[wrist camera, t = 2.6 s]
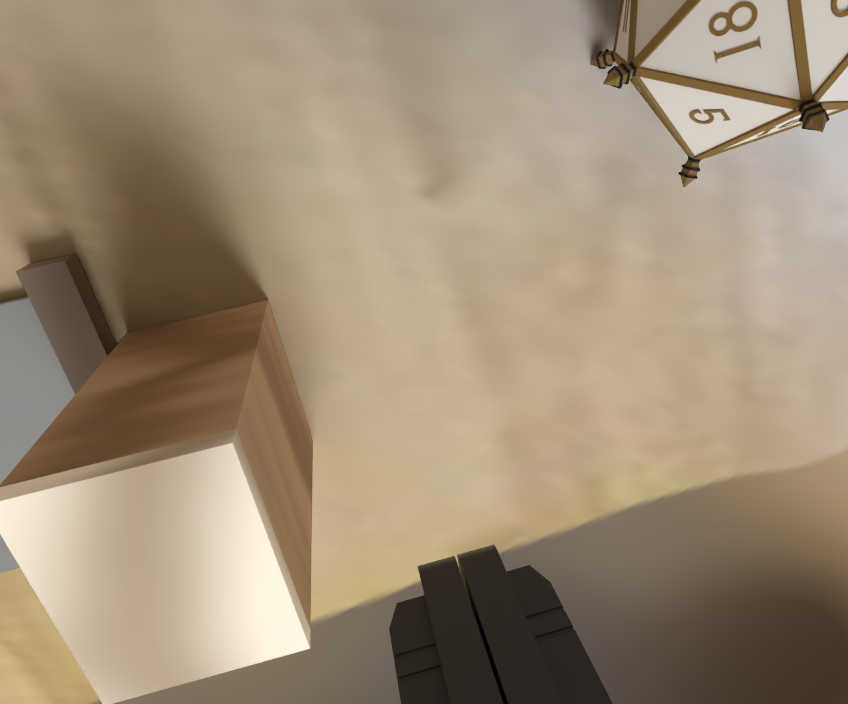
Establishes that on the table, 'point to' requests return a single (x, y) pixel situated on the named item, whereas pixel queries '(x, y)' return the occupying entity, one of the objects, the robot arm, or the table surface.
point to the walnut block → (172, 507)
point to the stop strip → (68, 315)
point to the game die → (732, 68)
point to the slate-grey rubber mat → (25, 390)
